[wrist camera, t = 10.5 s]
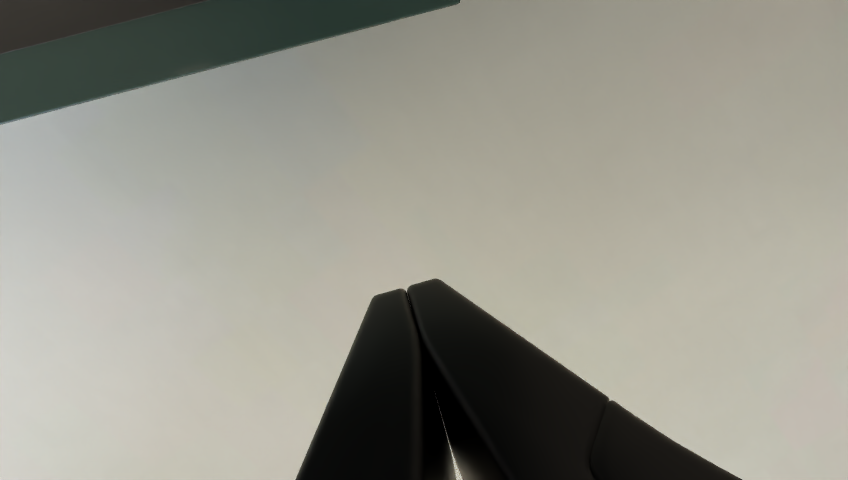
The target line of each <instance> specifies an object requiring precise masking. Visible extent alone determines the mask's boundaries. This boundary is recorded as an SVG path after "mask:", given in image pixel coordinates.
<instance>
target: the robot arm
mask: <svg viewBox="0 0 848 480" xmlns="http://www.w3.org/2000/svg"><path fill="white" fill-rule="evenodd" d="M407 294H408V295H407ZM408 298H409V299H408ZM409 301H410V302H409ZM410 305H411V306H410ZM437 401H438V402H437ZM439 408H440V409H439ZM440 412H441V413H440ZM441 415H442V416H441ZM442 419H443V420H442ZM443 422H444V424H443ZM444 426H445V427H444ZM445 430H446V431H445ZM446 433H447V434H446ZM447 437H448V438H447ZM448 440H449V442H448ZM449 443H450V446H451V449H452V452H453V456H454V458H455V461H456V463H457V466H458V468H459V471H460V473H461V476H462V478H463V480H742V479H740V478H738V477H736V476H734V475H733V474H731V473H729V472H727V471H725V470H723V469H722V468H720V467H718V466H716V465H714V464H713V463H711V462H709V461H707V460H706V459H704V458H702V457H700V456H699V455H697V454H695V453H694V452H692V451H690V450H688V449H687V448H685V447H683V446H681V445H680V444H678V443H676V442H674V441H673V440H671V439H670V438H668V437H667V436H665V435H664V434H662V433H660V432H659V431H657V430H656V429H654V428H653V427H651V426H650V425H648V424H647V423H645V422H644V421H642V420H641V419H639V418H638V417H636V416H635V415H633V414H632V413H630V412H629V411H627V410H626V409H625V408H623V407H622V406H620V405H619V404H618V403H616V402H615V401H609V398H608V397H607V396H606V395H604V394H603V393H601V392H600V391H599V390H597V389H596V388H594V387H593V386H591V385H590V384H589V383H587V382H586V381H584V380H583V379H581V378H580V377H578V376H577V375H576V374H574V373H573V372H571V371H570V370H568V369H567V368H566V367H564V366H563V365H561V364H560V363H558V362H557V361H556V360H554V359H553V358H551V357H550V356H548V355H547V354H546V353H544V352H543V351H541V350H540V349H538V348H537V347H536V346H534V345H533V344H531V343H530V342H528V341H527V340H526V339H524V338H523V337H521V336H520V335H518V334H517V333H516V332H514V331H513V330H511V329H510V328H508V327H507V326H506V325H504V324H503V323H501V322H500V321H498V320H497V319H496V318H494V317H493V316H491V315H490V314H488V313H487V312H485V311H484V310H483V309H481V308H480V307H478V306H477V305H475V304H474V303H473V302H471V301H470V300H468V299H467V298H465V297H464V296H463V295H461V294H460V293H458V292H457V291H455V290H454V289H453V288H451V287H450V286H448V285H447V284H445V283H444V282H443V281H441V280H439V279H432V280H428V281H425V282H421V283H418V284H414V285H411V286H409V287H408V289H407V292H406V291H405V290H404V289H397V290H393V291H389V292H386V293H382V294H379V295H376V296H374V297H373V298H372V300H371V302H370V305H369V307H368V309H367V312H366V314H365V317H364V319H363V321H362V324H361V326H360V328H359V331H358V333H357V335H356V338H355V340H354V343H353V345H352V347H351V350H350V352H349V354H348V357H347V359H346V362H345V364H344V366H343V369H342V371H341V373H340V376H339V378H338V380H337V383H336V385H335V388H334V390H333V392H332V395H331V397H330V399H329V402H328V404H327V406H326V409H325V411H324V414H323V416H322V418H321V421H320V423H319V425H318V428H317V430H316V432H315V435H314V437H313V440H312V442H311V444H310V447H309V449H308V451H307V454H306V456H305V459H304V461H303V463H302V466H301V468H300V470H299V473H298V475H297V477H296V480H456V475H455V470H454V464H453V459H452V454H451V450H450V446H449Z"/></svg>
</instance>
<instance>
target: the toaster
mask: <svg viewBox="0 0 848 480" xmlns="http://www.w3.org/2000/svg"><path fill="white" fill-rule="evenodd" d="M458 3H460V0H0V125H1V124H5V123H9V122H13V121H16V120H20V119H24V118H28V117H32V116H35V115H39V114H43V113H47V112H51V111H54V110H58V109H62V108H66V107H69V106H73V105H77V104H81V103H85V102H88V101H92V100H96V99H100V98H104V97H107V96H111V95H115V94H119V93H123V92H126V91H130V90H134V89H138V88H142V87H145V86H149V85H153V84H157V83H160V82H164V81H168V80H172V79H176V78H179V77H183V76H187V75H191V74H195V73H198V72H202V71H206V70H210V69H214V68H217V67H221V66H225V65H229V64H233V63H236V62H240V61H244V60H248V59H252V58H255V57H259V56H263V55H267V54H270V53H274V52H278V51H282V50H286V49H289V48H293V47H297V46H301V45H305V44H308V43H312V42H316V41H320V40H324V39H327V38H331V37H335V36H339V35H343V34H346V33H350V32H354V31H358V30H361V29H365V28H369V27H373V26H377V25H380V24H384V23H388V22H392V21H396V20H399V19H403V18H407V17H411V16H415V15H418V14H422V13H426V12H430V11H434V10H437V9H441V8H445V7H449V6H453V5H456V4H458Z"/></svg>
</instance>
